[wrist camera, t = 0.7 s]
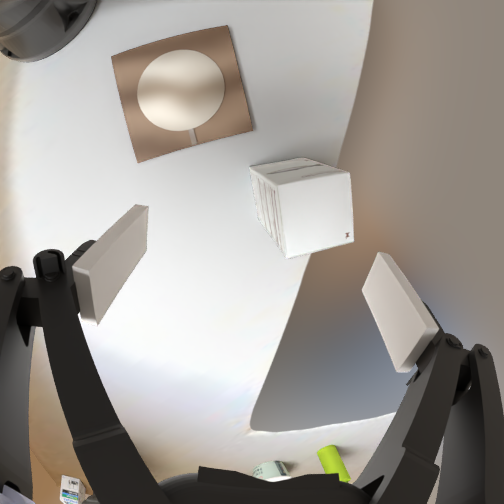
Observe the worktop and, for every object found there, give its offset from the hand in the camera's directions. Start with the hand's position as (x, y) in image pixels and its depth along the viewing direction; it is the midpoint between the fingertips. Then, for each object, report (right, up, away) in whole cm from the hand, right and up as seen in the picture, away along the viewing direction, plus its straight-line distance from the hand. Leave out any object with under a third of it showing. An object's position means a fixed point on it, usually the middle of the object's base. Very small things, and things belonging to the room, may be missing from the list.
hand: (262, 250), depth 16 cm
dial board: (-9, +19, +14) cm, 25 cm away
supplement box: (+3, +8, +22) cm, 23 cm away
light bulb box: (-61, -78, +45) cm, 109 cm away
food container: (+4, -64, +54) cm, 83 cm away
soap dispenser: (+22, -59, +56) cm, 84 cm away
